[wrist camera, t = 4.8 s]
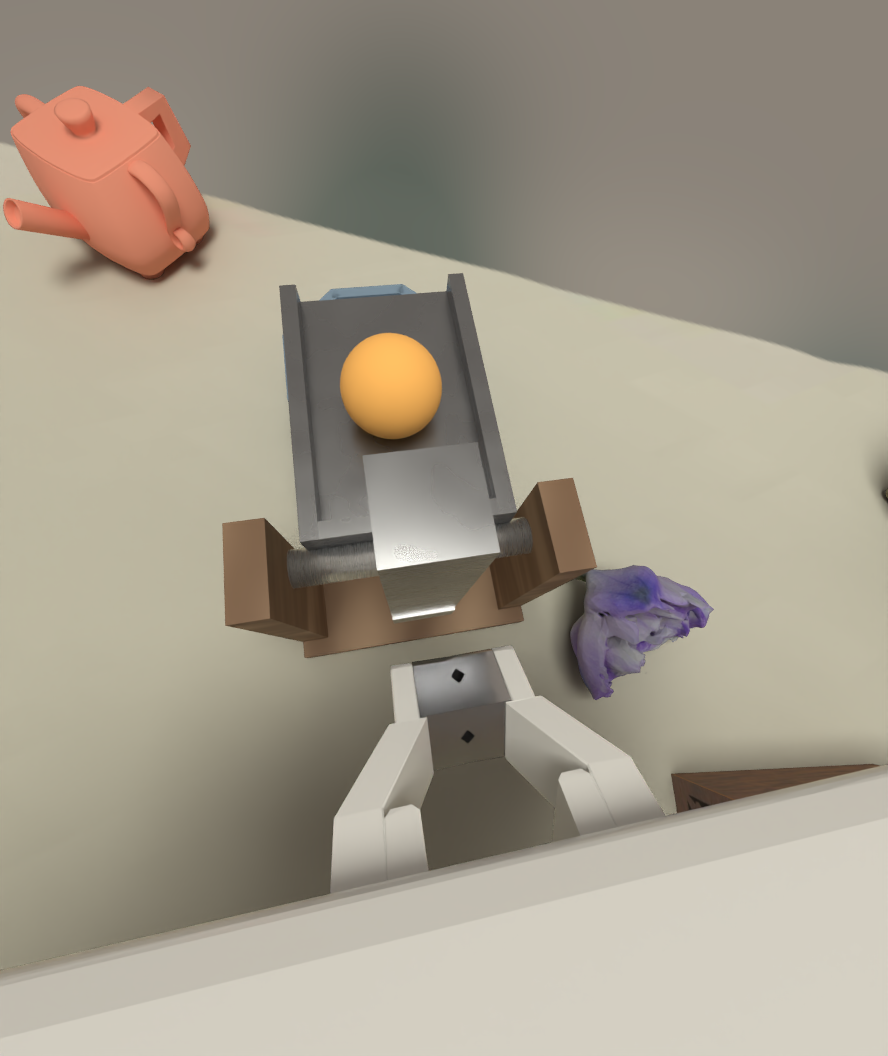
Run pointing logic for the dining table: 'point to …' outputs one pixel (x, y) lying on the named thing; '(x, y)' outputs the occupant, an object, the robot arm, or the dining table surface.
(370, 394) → the ball
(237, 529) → the stand
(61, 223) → the teapot
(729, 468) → the dining table surface
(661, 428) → the dining table surface
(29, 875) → the dining table surface
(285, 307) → the lever
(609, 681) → the flower
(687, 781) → the tissue box cover
